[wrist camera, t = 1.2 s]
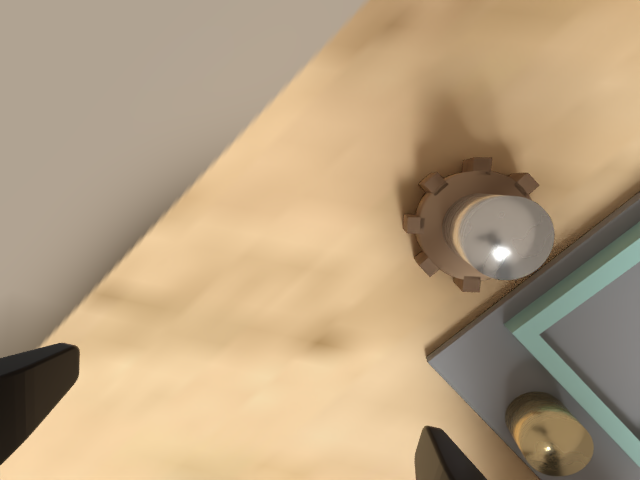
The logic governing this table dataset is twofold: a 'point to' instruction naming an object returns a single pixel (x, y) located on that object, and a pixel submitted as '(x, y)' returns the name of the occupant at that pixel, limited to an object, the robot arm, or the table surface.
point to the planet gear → (480, 225)
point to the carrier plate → (562, 358)
